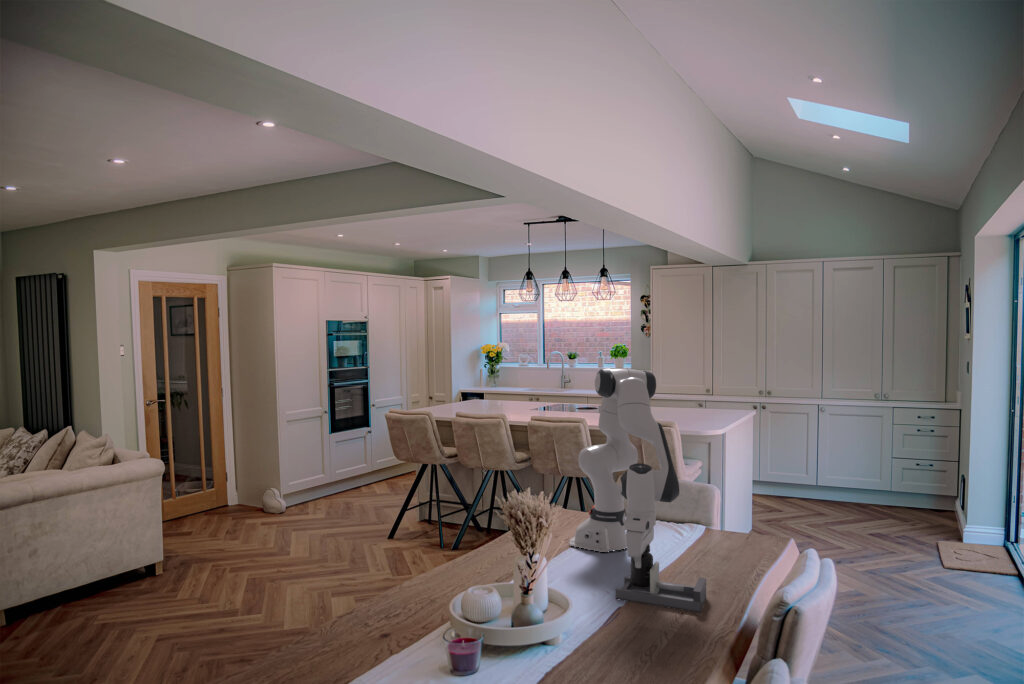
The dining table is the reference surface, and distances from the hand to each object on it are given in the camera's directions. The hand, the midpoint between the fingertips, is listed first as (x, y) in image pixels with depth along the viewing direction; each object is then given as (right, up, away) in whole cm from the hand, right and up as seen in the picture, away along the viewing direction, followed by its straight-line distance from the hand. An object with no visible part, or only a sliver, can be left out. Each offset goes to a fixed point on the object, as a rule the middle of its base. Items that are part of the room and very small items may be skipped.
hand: (641, 562), depth 196 cm
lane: (+5, -10, -2) cm, 12 cm away
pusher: (+7, -9, -3) cm, 12 cm away
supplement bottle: (0, -7, 0) cm, 7 cm away
